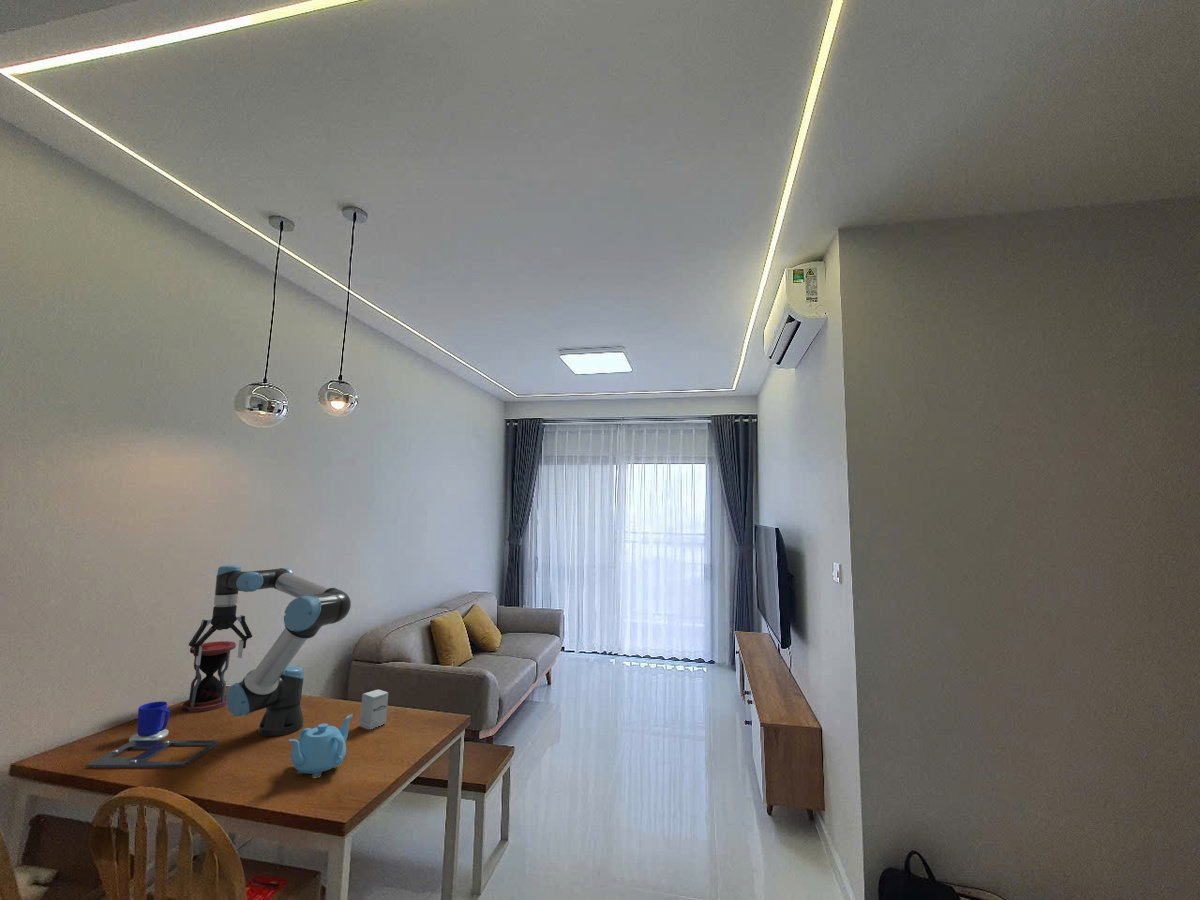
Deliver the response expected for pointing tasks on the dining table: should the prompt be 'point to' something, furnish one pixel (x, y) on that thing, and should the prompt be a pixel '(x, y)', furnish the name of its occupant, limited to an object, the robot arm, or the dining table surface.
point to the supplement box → (373, 709)
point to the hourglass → (209, 677)
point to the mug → (152, 718)
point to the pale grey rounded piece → (152, 737)
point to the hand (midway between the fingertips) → (219, 661)
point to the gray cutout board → (149, 754)
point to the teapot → (320, 748)
